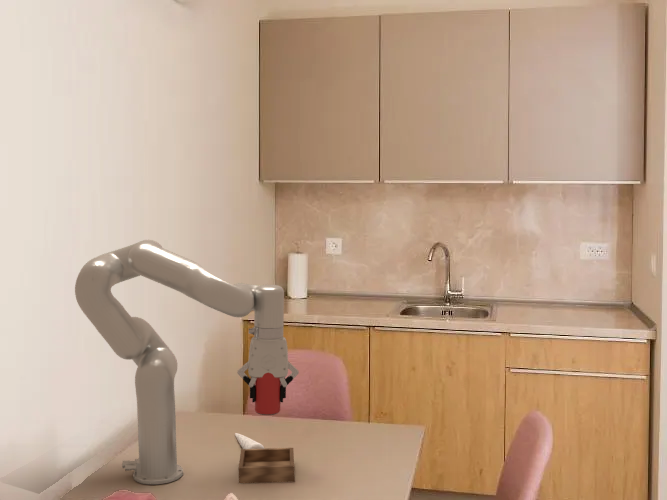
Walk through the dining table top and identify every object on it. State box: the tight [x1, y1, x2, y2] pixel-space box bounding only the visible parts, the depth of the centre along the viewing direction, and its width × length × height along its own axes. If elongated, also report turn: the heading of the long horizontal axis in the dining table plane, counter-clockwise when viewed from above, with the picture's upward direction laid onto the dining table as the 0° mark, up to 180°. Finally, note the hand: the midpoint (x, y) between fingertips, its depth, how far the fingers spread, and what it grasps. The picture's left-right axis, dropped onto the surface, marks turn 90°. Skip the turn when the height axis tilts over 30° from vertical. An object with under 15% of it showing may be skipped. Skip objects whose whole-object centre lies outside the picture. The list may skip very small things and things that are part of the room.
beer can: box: [254, 370, 281, 416], centre depth 206 cm, size 7×7×12 cm
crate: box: [238, 447, 295, 484], centre depth 207 cm, size 14×14×4 cm
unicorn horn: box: [234, 432, 265, 449], centre depth 227 cm, size 5×24×5 cm, turn 18°
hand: (267, 400), depth 206 cm, fingers closed on beer can, 6 cm apart
